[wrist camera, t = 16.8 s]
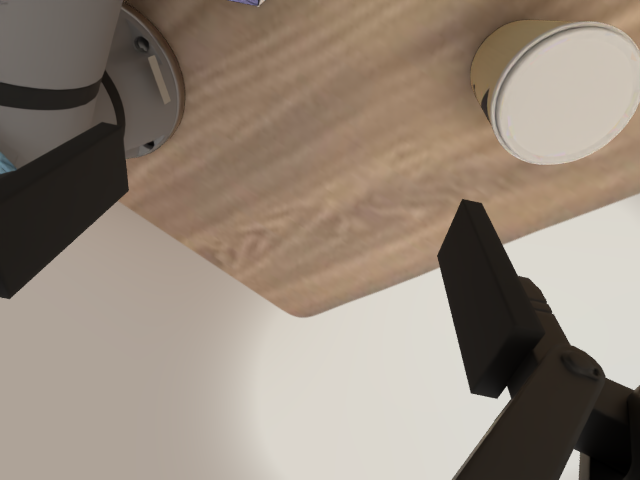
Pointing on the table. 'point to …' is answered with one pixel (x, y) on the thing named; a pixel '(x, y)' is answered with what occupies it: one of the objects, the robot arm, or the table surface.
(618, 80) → the tan lidded canister
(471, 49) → the table surface
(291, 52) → the table surface
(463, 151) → the table surface
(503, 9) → the table surface
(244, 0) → the geometric puzzle
